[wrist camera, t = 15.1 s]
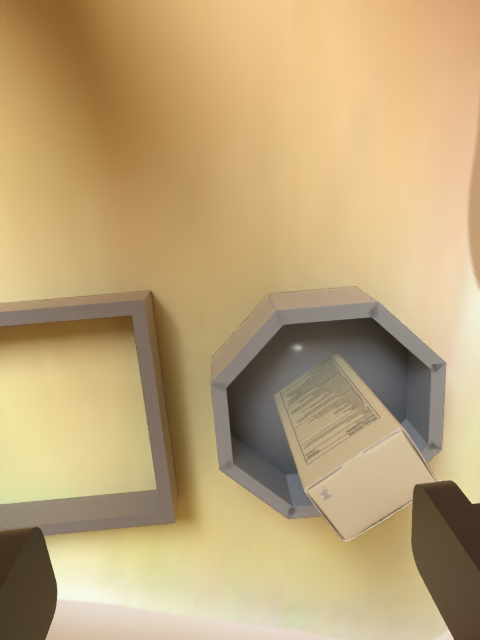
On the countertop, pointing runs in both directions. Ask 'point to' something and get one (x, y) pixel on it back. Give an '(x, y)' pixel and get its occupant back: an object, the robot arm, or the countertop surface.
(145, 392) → the parts tray
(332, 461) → the skincare box
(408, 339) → the ceramic bowl
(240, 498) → the countertop surface
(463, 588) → the robot arm
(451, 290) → the countertop surface
